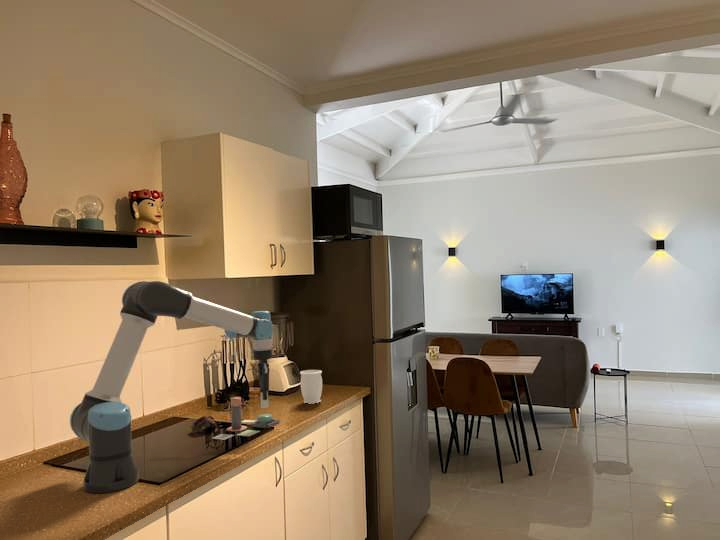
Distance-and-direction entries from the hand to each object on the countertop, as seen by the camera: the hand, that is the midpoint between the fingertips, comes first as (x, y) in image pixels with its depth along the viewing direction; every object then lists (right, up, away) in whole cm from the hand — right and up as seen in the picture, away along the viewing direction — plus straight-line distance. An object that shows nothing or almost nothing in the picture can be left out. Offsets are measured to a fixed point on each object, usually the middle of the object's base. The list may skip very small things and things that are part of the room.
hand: (264, 407), depth 216 cm
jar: (+15, -9, +42) cm, 45 cm away
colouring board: (-8, -9, -8) cm, 14 cm away
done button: (0, -6, 0) cm, 6 cm away
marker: (-10, -7, -4) cm, 13 cm away
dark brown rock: (-22, -9, -5) cm, 25 cm away
